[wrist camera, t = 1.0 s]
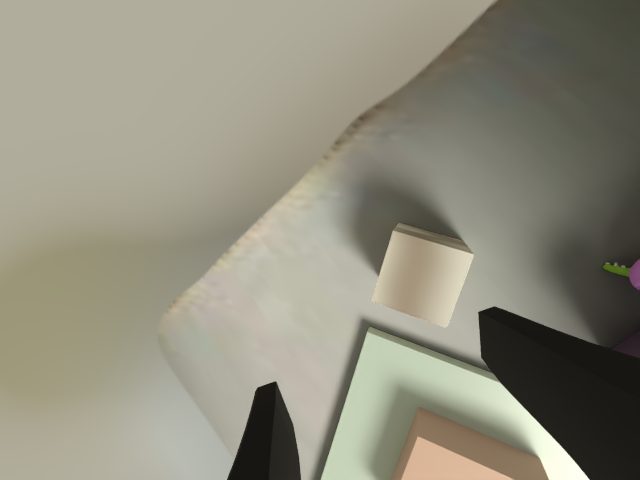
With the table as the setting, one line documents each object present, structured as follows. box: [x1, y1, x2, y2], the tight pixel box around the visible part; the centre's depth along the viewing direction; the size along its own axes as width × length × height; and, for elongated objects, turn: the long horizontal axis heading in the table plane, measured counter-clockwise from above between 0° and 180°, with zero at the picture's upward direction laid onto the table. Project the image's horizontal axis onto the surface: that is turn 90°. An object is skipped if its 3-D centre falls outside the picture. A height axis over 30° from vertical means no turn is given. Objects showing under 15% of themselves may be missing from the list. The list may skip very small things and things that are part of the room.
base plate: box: [321, 327, 589, 480], centre depth 24 cm, size 18×16×1 cm
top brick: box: [371, 223, 474, 328], centre depth 21 cm, size 4×4×5 cm
